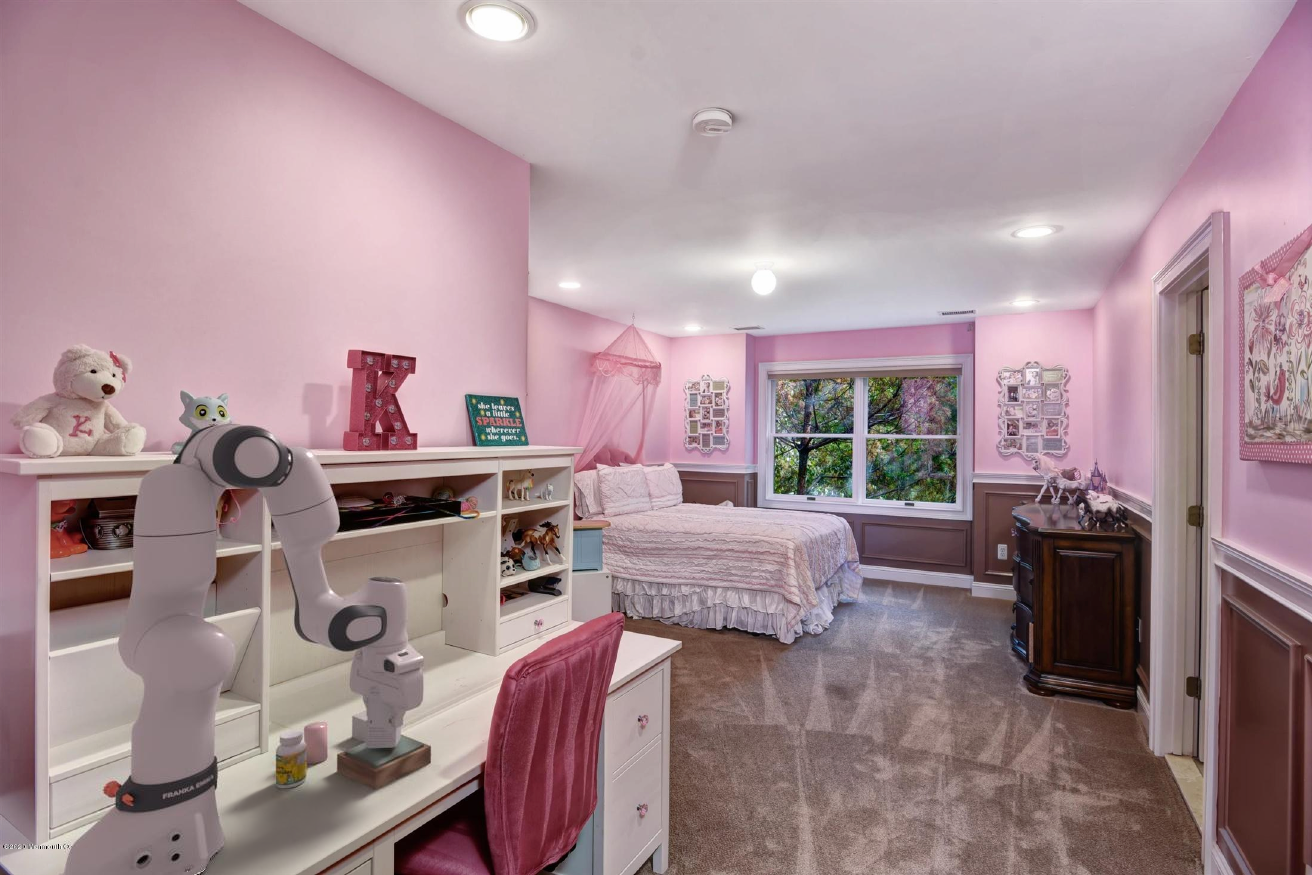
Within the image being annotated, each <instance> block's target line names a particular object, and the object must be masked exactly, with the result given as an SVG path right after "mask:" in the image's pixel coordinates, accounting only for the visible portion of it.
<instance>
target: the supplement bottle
mask: <svg viewBox="0 0 1312 875" xmlns="http://www.w3.org/2000/svg"><path fill="white" fill-rule="evenodd" d="M303 739H304V731H302V730H301V729H292V730H287V731H285V732H282V733H281V734H280V736H279V746H277V747H276V750H275V786H276V787H277V788H279V789H290V788H291V789H292V788H295V787H297V786H300V785H301V784H303V783H304V782H306V779H307V769H308V768H307V765H308V764H307V746H306V743H305V742H304V740H303Z"/></svg>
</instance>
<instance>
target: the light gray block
mask: <svg viewBox="0 0 1312 875" xmlns="http://www.w3.org/2000/svg"><path fill="white" fill-rule="evenodd" d="M351 716H352V717H351V718H352V719H351V722H352V724H351V737H352V738H353V739H356V740H358V741H360V742H363V743H365V742H367V716H366V710H364V711H361V712H359V713H356V714H353V715H351Z"/></svg>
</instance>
